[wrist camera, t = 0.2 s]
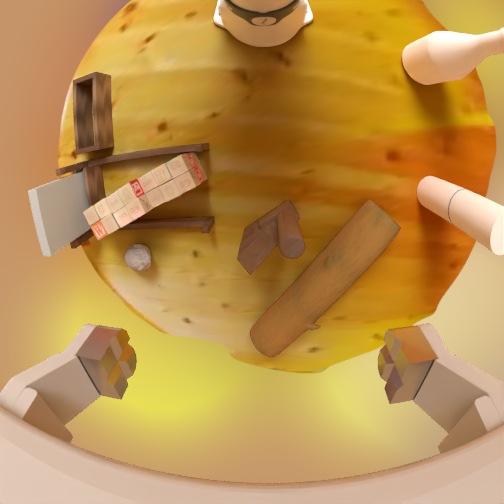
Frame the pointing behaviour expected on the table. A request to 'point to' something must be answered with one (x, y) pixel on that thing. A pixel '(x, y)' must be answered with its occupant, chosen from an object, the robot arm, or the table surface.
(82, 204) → the sheet
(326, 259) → the log
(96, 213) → the stack of blocks
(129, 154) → the rack
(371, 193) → the table surface
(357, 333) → the table surface
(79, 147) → the holder
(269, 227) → the brown wedge with rod
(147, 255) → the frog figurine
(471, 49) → the wine bottle
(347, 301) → the table surface
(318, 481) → the robot arm
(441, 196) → the cylindrical container
